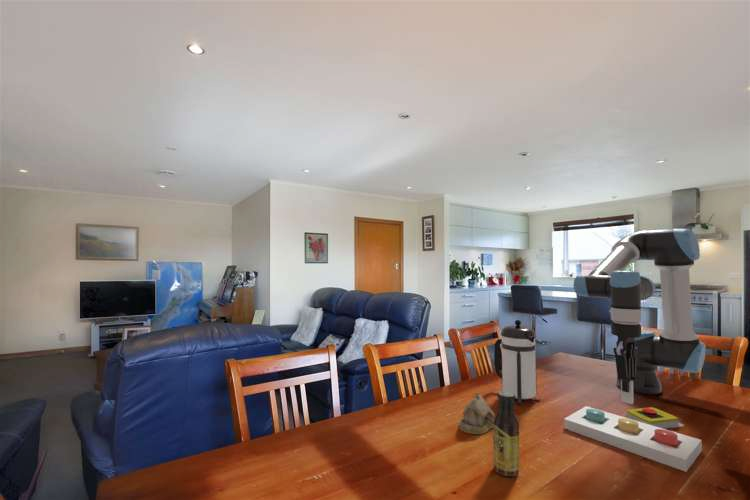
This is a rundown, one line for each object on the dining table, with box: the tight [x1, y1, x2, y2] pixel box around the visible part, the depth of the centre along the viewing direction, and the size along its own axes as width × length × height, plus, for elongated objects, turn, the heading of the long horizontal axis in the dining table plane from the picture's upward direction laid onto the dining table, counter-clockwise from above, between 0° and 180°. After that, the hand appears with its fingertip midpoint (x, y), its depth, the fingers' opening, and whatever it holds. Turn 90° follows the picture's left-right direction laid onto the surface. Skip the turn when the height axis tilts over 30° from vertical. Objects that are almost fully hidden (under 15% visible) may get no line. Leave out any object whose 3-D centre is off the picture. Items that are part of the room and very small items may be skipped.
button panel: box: [563, 405, 703, 473], centre depth 108 cm, size 16×30×3 cm, turn 38°
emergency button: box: [624, 406, 685, 430], centre depth 119 cm, size 9×4×15 cm
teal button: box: [586, 408, 605, 424], centre depth 115 cm, size 5×5×4 cm
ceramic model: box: [458, 393, 496, 435], centre depth 118 cm, size 14×11×10 cm
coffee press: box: [493, 319, 541, 406], centre depth 142 cm, size 17×16×30 cm
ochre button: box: [618, 418, 639, 436], centre depth 108 cm, size 5×5×4 cm
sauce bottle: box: [492, 390, 520, 478], centre depth 93 cm, size 7×6×20 cm
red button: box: [654, 429, 678, 448], centre depth 101 cm, size 5×5×4 cm
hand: (627, 402), depth 108 cm, fingers closed
